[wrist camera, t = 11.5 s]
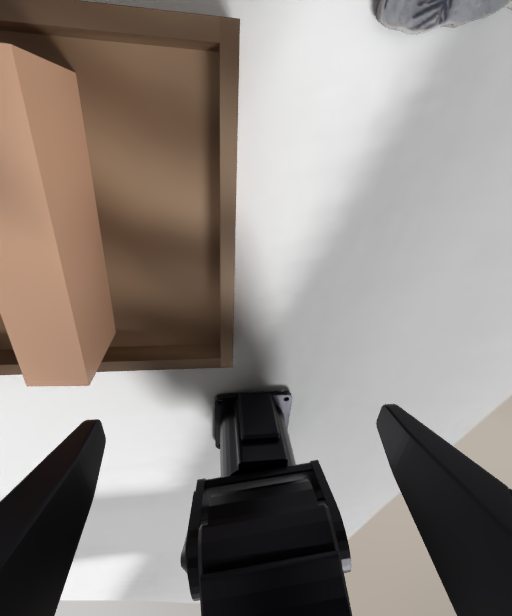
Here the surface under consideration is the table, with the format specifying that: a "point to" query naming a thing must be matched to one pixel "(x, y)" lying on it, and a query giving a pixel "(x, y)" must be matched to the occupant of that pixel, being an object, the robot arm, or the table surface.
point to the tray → (152, 169)
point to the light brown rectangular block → (49, 226)
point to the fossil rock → (434, 13)
